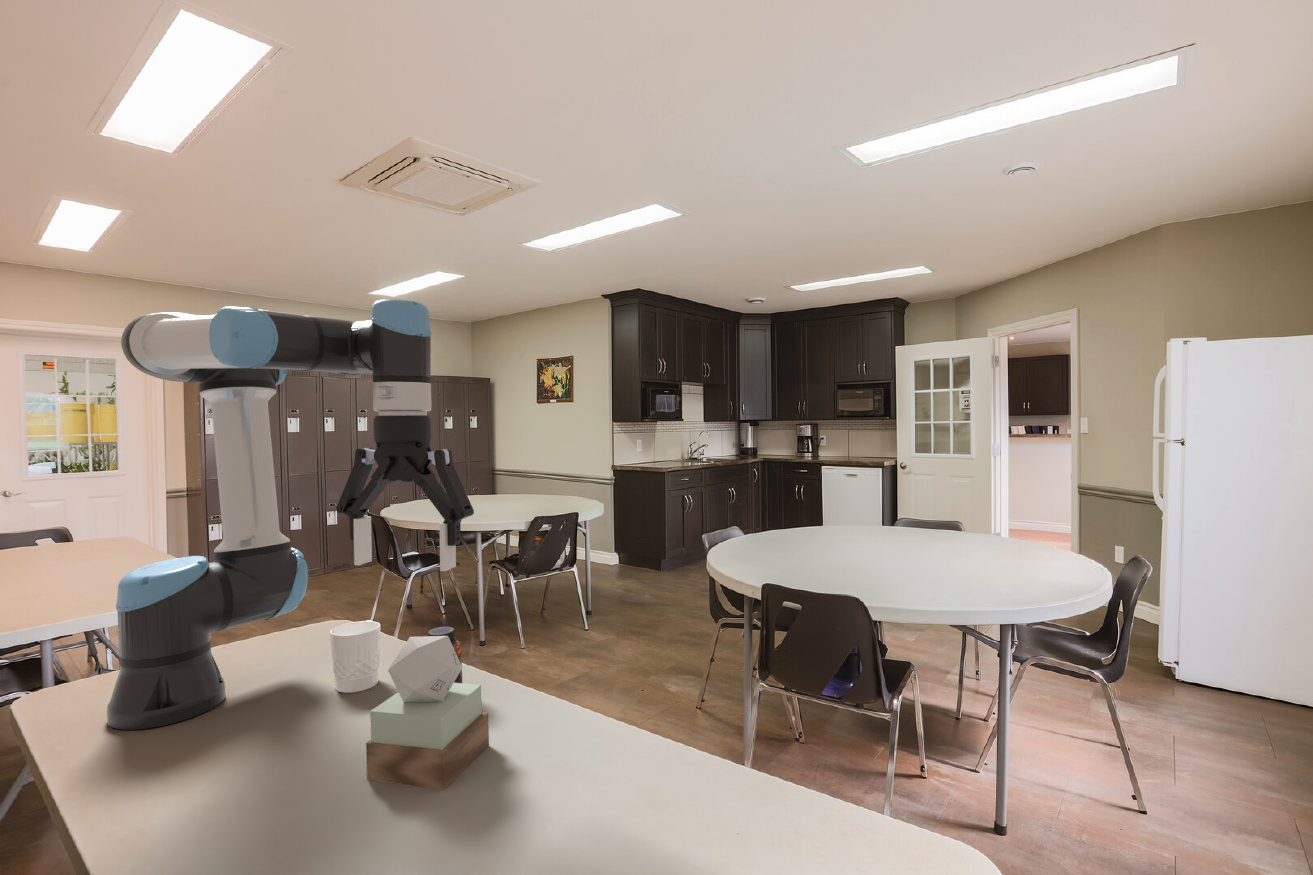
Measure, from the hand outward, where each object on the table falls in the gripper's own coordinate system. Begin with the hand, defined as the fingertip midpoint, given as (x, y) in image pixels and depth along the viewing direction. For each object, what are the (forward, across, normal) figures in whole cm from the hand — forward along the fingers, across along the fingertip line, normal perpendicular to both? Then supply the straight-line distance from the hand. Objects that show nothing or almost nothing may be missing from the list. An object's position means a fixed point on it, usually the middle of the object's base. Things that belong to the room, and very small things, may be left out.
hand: (404, 566), depth 90 cm
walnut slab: (+25, +6, -4) cm, 26 cm away
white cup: (+26, -21, +16) cm, 37 cm away
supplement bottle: (+25, -3, +14) cm, 29 cm away
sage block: (+20, +6, -4) cm, 22 cm away
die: (+16, +6, -4) cm, 18 cm away
